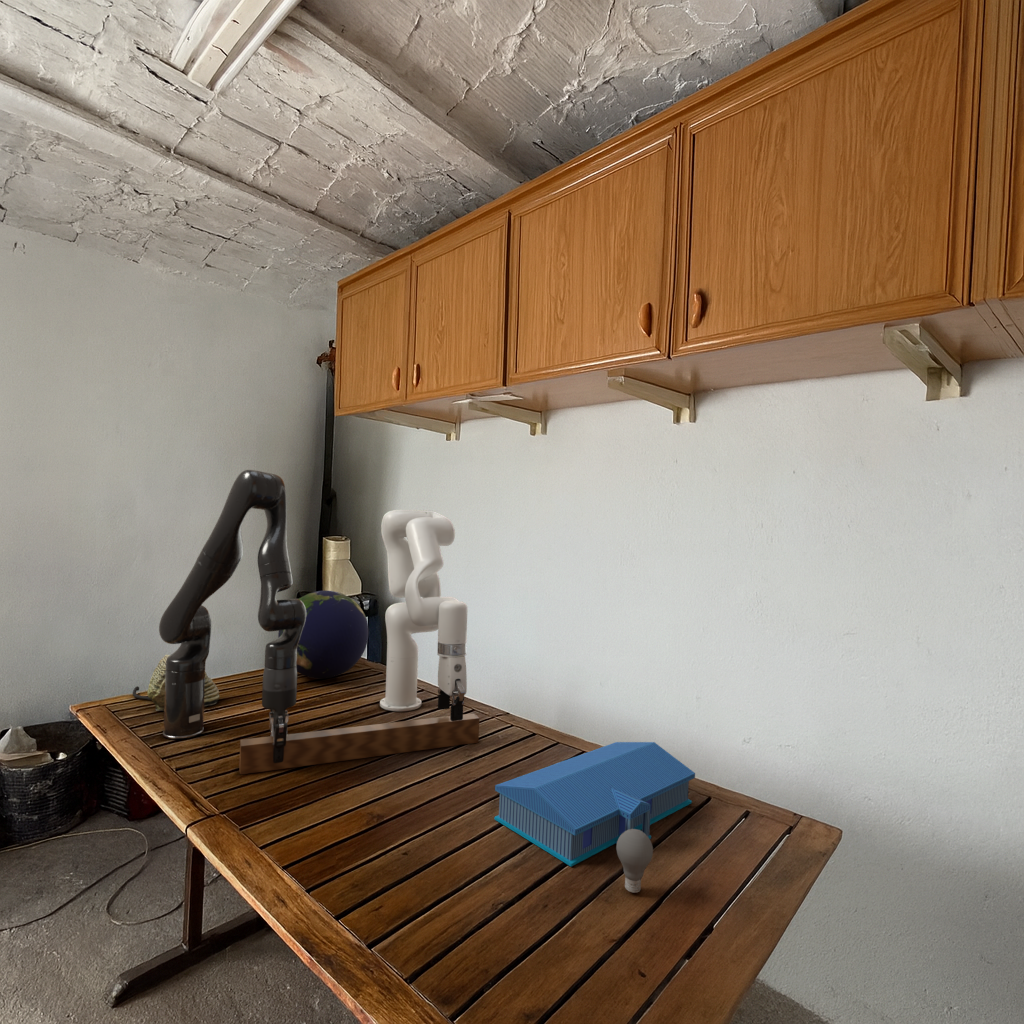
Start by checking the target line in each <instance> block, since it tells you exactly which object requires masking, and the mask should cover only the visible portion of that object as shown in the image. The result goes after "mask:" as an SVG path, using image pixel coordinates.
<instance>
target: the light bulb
mask: <svg viewBox="0 0 1024 1024" xmlns="http://www.w3.org/2000/svg"><path fill="white" fill-rule="evenodd" d="M615 849H616V854H617V857H618V859H619V861H620V863H621V865H622V867H623V873H624V874H623V875H624V876H625V878H624V888H625V890H627V891H628V892H630V893H634V894H635V893H639V892H640V891H641V889H642V887H641V886H642V879H643V877H644V875H645V871H646V868H647V867H648V866H649V864H650V863H651V861H652V859H653V855H654V847H653V843H652V841H651V839H649V838H648V836H647V835H646V834H645V833H644V832H642V830H641V831H640V830H637V829H629V830H627V831H625V832H623V833H622V834H621V835H620V837H619V839H618V841H617V844H616V847H615Z"/></svg>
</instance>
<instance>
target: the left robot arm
mask: <svg viewBox="0 0 1024 1024" xmlns="http://www.w3.org/2000/svg"><path fill="white" fill-rule="evenodd" d="M251 509H254V510H255V509H256V510H262V511H263V512H264V515H265V518H266V529H265V532H264V536H263V538H262V541H261V543H260V546H259V549H258V551H257V569H258V574H259V580H260V594H259V595H260V596H259V597H260V598H259V603H258V611H257V621H258V622H257V623H258V625H259V626H260V627H261V629H263V630H264V631H265V632H271V633H272V632H279V631H280V630H284V632H283V634H282V635H281V636H280V637H279V638H278V637H277V638H275V639H272V640H270V641H267V643H266V645H265V647H264V667H263V673H262V689H261V690H262V691H261V692H262V694H261V706H262V707H263V708H264V709H266V710H269V712H268V719H269V726H268V727H269V732H270V736H273V762H274V763H280V762H283V757H284V746H286V735H287V734H288V727H289V724H288V722H289V714H288V710H287V709H289V708H292V707H294V706H295V705H296V704H297V692H298V691H297V690H298V672H297V668H296V664H297V647H298V644H299V640H300V637H301V633H302V630H303V627H304V624H305V621H306V608H305V605H304V604H303V602H302V601H301V600H299V599H300V598H287V599H286V598H285V599H277V594H278V593H280V592H283V591H286V590H288V589H290V588H291V587H292V586H293V576H292V575H293V574H292V570H291V569H292V568H291V563H290V557H289V551H288V542H287V541H288V539H287V534H288V533H287V531H288V530H287V529H288V528H287V524H288V523H287V522H288V521H287V519H288V517H287V489H286V484H285V481H284V479H283V478H282V477H281V476H279V475H277V474H275V473H270V472H265V471H262V470H261V471H260V470H255V469H244V470H243V471H241V472H240V473H238V475H237V477H236V478H235V480H234V481H233V483H232V486H231V488H230V490H229V492H228V495H227V498H226V500H225V503H224V505H223V507H222V511H221V513H220V515H219V517H218V519H217V521H216V523H215V525H214V527H213V529H212V531H211V533H210V535H209V536H208V538H207V540H206V542H205V544H203V547H202V548H201V551H200V552H199V554H198V556H197V558H196V560H195V562H194V565H193V566H192V567H191V570H190V571H189V573H188V575H187V576H186V578H185V580H184V582H183V583H182V586H181V587H180V589H179V590H178V591H177V593H176V595H175V596H174V597H173V599H172V600H171V602H170V603H169V604H168V606H167V607H166V609H165V610H164V612H163V614H162V615H161V618H160V621H159V624H158V632H159V636H160V638H161V640H162V641H163V642H164V643H166V644H169V645H179V647H178V648H177V649H176V650H175V651H174V652H173V653H170V654H169V655H170V656H169V657H168V658H167V660H166V674H165V705H164V710H163V731H162V737H164V738H166V739H169V740H185V739H190V738H191V739H192V738H194V737H197V736H199V735H202V734H203V732H204V730H205V729H204V722H205V721H204V718H205V706H204V693H205V672H206V664H207V663H206V662H207V659H208V657H209V653H210V647H211V636H212V617H211V614H210V612H209V610H208V609H207V607H206V606H205V605H203V604H204V603H205V602H206V601H207V600H208V599H209V598H210V597H211V596H213V595H214V594H215V593H216V592H217V591H218V590H220V589H221V588H222V587H223V586H224V585H225V584H226V583H227V582H228V581H229V580H230V579H231V578H232V576H233V575H234V573H235V572H236V569H237V568H238V566H239V565H240V562H241V561H242V559H243V555H244V542H243V536H242V526H243V523H244V521H245V518H246V516H247V515H248V513H249V511H250V510H251ZM138 691H140V686H138V685H136V686H135V687H134V688H133V691H132V697H134V698H136V699H140V700H145V701H152V700H151V699H150V698H149V697H148V695H147V696H146V695H139V694H137V692H138ZM277 739H282V741H277Z"/></svg>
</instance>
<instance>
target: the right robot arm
mask: <svg viewBox="0 0 1024 1024" xmlns="http://www.w3.org/2000/svg"><path fill="white" fill-rule="evenodd" d="M380 525H381V527H380V530H381V537H382V541H383V544H384V547H385V550H386V555H387V575H388V589H389V593H390V595H391V596H392V597H394V598H399V599H404V600H405V601H403V602H396V603H395V602H394V603H393V604H391V605H390V606H388V607H387V609H386V611H385V615H384V617H385V618H384V621H385V628H386V642H387V643H386V670H385V671H386V673H385V694H384V696H385V697H383V698H381V699H380V701H379V707H380V708H381V709H382V710H386V711H388V712H389V711H390V712H411V711H414V710H417V709H419V708H420V707H422V700H421V699H420V698H419V697H418V675H419V645H418V643H417V641H416V640H415V639H414V638H413V636H412V635H413V634H419V633H433V632H436V631H437V656H438V667H437V668H438V669H437V686H438V688H437V709H438V711H442V710H448V709H450V713H449V716H450V720H451V721H457V720H462V719H463V714H464V705H465V695H466V694H467V692H468V681H467V680H468V678H467V677H468V675H467V661H466V660H467V659H466V656H467V644H468V643H467V641H468V640H467V638H468V610H469V609H468V605H467V603H466V602H464V601H461V600H458V599H457V598H456V597H454V596H442V588H441V578H440V575H439V573H438V572H439V571H441V570H442V568H443V567H444V564H445V560H444V557H443V554H442V550H441V547H449V546H451V545H452V544H453V543H454V542H455V539H456V530H455V527H454V524H453V522H452V520H451V519H450V518H448V517H446V516H445V515H444V514H441V513H439V512H437V511H434V510H424V509H423V510H422V509H419V510H418V509H392V510H389V511H386V513H385V514H384V515H383V517H382V519H381V523H380Z"/></svg>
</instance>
